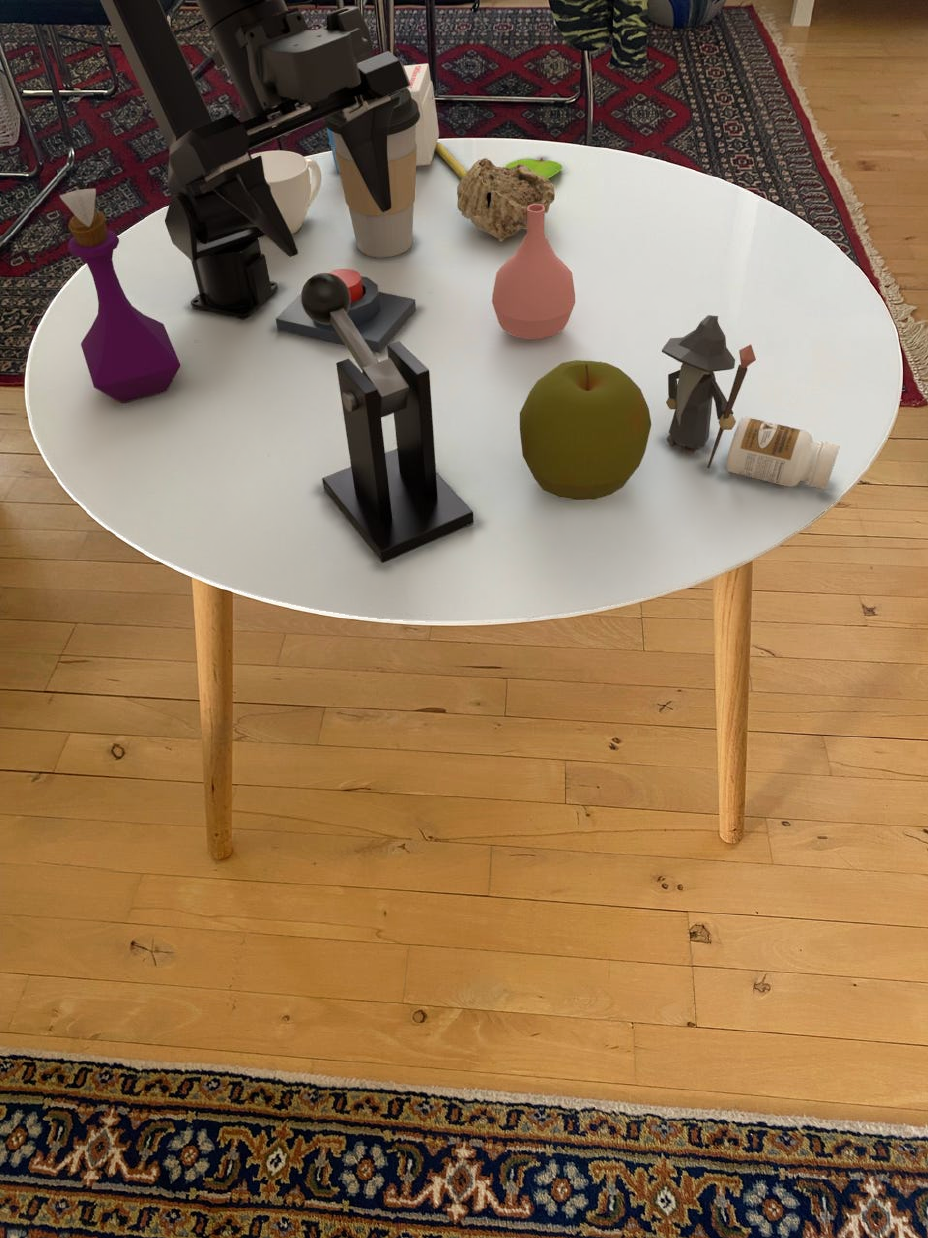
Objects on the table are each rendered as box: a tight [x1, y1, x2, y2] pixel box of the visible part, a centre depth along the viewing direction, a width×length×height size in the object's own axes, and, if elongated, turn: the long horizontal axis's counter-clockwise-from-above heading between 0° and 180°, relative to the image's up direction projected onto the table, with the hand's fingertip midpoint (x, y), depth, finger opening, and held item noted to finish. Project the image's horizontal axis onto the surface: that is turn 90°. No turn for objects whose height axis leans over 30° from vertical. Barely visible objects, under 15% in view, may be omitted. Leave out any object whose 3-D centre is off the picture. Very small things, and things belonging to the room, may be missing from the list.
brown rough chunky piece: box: [456, 157, 556, 242], centre depth 105 cm, size 11×7×10 cm
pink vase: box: [491, 204, 576, 340], centre depth 89 cm, size 8×8×12 cm
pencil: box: [435, 141, 468, 180], centre depth 117 cm, size 1×14×1 cm
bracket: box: [321, 340, 474, 563], centre depth 73 cm, size 10×8×13 cm
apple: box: [519, 359, 652, 501], centre depth 75 cm, size 10×10×11 cm
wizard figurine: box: [661, 314, 756, 469], centre depth 76 cm, size 8×6×12 cm
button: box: [328, 268, 363, 303], centre depth 93 cm, size 4×4×2 cm
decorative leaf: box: [504, 157, 563, 179], centre depth 115 cm, size 8×9×1 cm
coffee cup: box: [322, 88, 420, 259], centre depth 100 cm, size 9×9×15 cm
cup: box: [250, 150, 322, 235], centre depth 107 cm, size 8×10×7 cm
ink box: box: [326, 63, 440, 174], centre depth 116 cm, size 9×8×12 cm
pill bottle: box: [725, 416, 841, 490], centre depth 77 cm, size 4×4×8 cm
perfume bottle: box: [59, 188, 181, 403], centre depth 83 cm, size 8×8×18 cm
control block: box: [275, 275, 417, 354], centre depth 95 cm, size 11×8×3 cm
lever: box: [300, 272, 409, 419], centre depth 71 cm, size 12×4×4 cm, turn 31°
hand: (341, 232), depth 77 cm, fingers open, 9 cm apart
